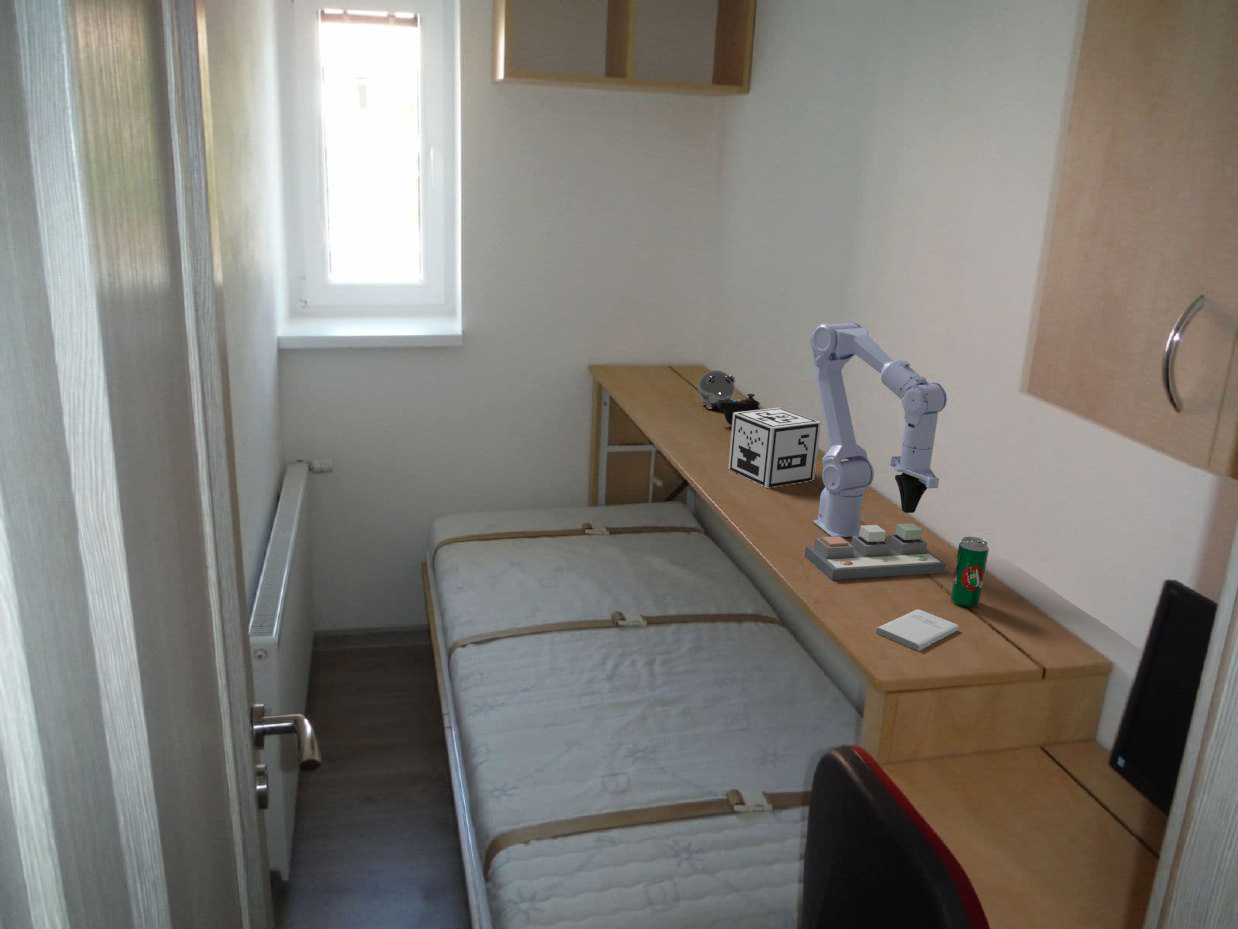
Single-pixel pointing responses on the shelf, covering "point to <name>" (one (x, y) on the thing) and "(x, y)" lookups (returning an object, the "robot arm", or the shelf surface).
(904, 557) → the pattern card
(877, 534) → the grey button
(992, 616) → the shelf surface
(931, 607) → the shelf surface
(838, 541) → the terracotta button
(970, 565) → the soda can
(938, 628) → the external hard drive
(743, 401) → the controller
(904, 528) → the sage button
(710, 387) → the piggy bank
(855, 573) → the button board
